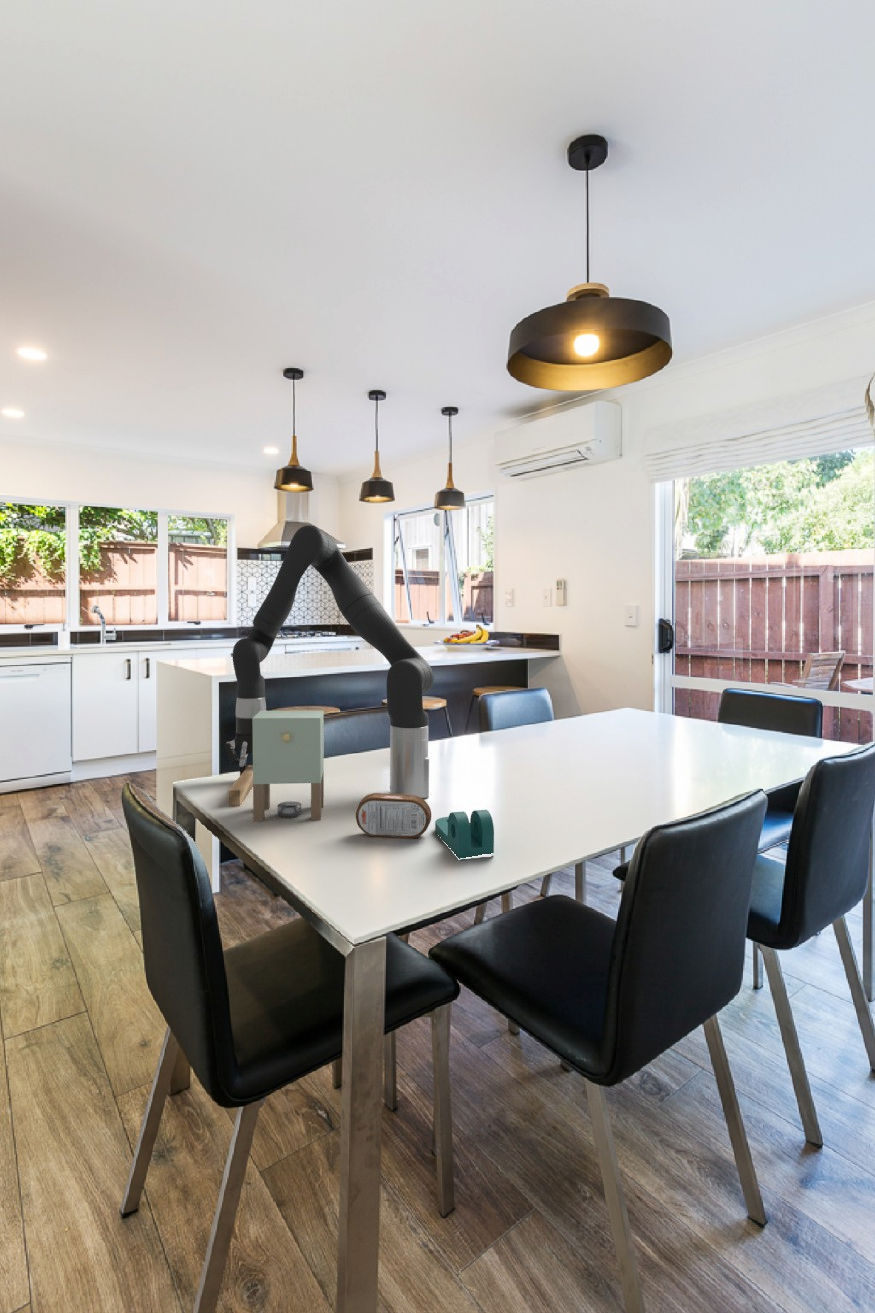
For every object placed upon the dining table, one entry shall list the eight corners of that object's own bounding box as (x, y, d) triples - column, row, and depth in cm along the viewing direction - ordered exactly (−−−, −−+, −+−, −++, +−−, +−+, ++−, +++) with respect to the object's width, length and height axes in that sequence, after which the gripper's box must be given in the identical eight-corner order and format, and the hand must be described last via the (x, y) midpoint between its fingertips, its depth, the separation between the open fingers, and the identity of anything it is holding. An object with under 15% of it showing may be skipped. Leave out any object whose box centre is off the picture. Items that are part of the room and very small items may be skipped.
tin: (431, 835, 128) (431, 794, 127) (429, 841, 125) (430, 798, 124) (357, 832, 129) (357, 791, 129) (354, 837, 126) (354, 795, 125)
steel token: (302, 811, 142) (302, 801, 142) (299, 819, 137) (299, 808, 137) (279, 812, 141) (279, 801, 141) (276, 819, 137) (276, 808, 136)
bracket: (493, 858, 117) (494, 816, 116) (458, 861, 115) (459, 819, 114) (462, 826, 134) (462, 789, 133) (431, 828, 132) (431, 791, 131)
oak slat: (258, 780, 168) (258, 765, 168) (240, 807, 145) (239, 790, 145) (248, 780, 168) (248, 765, 168) (228, 807, 145) (228, 790, 144)
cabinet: (323, 805, 146) (323, 710, 144) (320, 821, 135) (320, 718, 133) (261, 807, 144) (260, 710, 143) (252, 823, 133) (251, 719, 132)
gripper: (280, 712, 169) (281, 776, 171) (226, 712, 168) (227, 776, 169) (276, 716, 162) (277, 783, 163) (219, 717, 160) (220, 784, 162)
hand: (251, 779), depth 166 cm, fingers open, 3 cm apart
